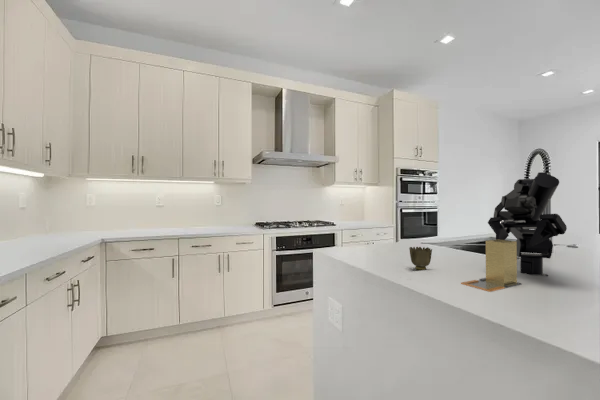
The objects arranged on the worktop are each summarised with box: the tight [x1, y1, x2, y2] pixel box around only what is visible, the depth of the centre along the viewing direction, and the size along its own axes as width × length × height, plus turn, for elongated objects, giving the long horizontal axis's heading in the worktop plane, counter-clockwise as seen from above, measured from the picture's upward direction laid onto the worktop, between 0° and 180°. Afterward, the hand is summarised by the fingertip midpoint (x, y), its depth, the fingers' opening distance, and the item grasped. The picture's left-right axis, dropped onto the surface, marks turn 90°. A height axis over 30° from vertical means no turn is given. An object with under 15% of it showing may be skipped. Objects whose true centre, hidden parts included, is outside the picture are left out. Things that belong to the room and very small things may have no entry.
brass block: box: [485, 239, 518, 286], centre depth 81 cm, size 6×5×12 cm
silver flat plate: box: [460, 277, 523, 293], centre depth 80 cm, size 15×8×1 cm, turn 115°
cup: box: [408, 246, 433, 272], centre depth 100 cm, size 8×7×8 cm
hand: (513, 244), depth 82 cm, fingers open, 9 cm apart
